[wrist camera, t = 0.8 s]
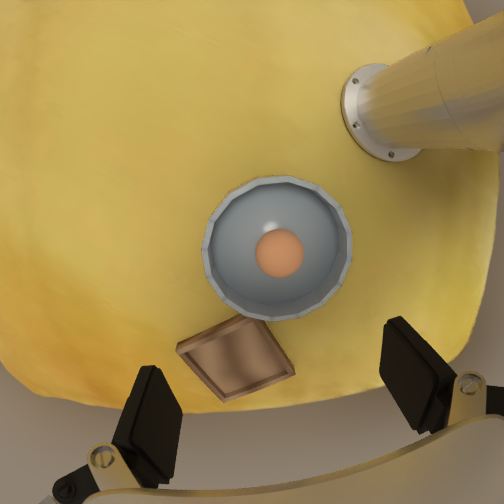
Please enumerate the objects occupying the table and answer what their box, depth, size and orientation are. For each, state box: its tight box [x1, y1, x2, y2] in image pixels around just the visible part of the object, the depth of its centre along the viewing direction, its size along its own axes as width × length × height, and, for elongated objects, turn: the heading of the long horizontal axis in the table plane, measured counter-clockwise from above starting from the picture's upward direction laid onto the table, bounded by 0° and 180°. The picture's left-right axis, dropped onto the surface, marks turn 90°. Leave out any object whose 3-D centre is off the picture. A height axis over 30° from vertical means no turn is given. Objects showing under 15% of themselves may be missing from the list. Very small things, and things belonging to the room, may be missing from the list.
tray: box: [175, 314, 296, 403], centre depth 36 cm, size 12×12×2 cm
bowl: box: [201, 175, 352, 322], centre depth 30 cm, size 16×16×4 cm
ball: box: [255, 229, 304, 278], centre depth 28 cm, size 5×5×5 cm
